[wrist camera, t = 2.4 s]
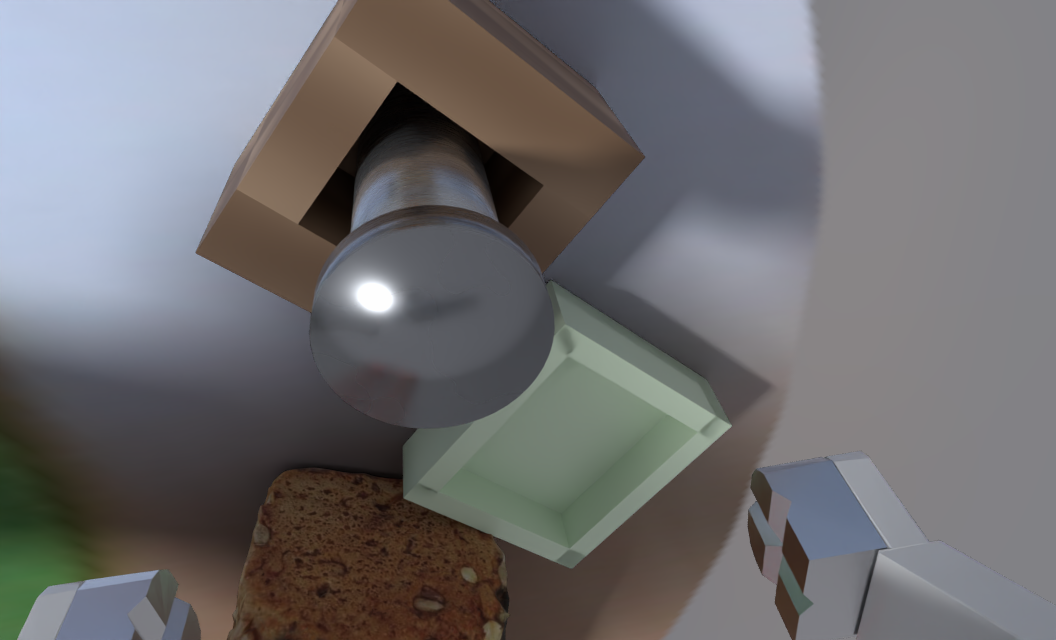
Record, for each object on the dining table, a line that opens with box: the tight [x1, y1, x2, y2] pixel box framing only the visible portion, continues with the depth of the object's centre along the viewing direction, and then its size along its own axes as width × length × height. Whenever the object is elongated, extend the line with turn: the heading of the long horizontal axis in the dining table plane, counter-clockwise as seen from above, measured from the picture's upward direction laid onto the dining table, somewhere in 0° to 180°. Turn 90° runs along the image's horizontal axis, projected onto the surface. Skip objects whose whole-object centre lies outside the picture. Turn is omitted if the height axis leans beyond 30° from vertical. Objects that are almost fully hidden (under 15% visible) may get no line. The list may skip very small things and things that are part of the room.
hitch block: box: [196, 0, 645, 313], centre depth 22 cm, size 9×8×6 cm
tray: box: [403, 280, 732, 569], centre depth 31 cm, size 10×9×3 cm
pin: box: [309, 82, 555, 429], centre depth 19 cm, size 5×5×11 cm
